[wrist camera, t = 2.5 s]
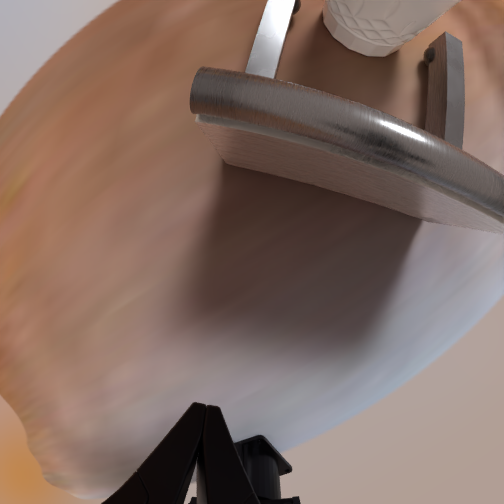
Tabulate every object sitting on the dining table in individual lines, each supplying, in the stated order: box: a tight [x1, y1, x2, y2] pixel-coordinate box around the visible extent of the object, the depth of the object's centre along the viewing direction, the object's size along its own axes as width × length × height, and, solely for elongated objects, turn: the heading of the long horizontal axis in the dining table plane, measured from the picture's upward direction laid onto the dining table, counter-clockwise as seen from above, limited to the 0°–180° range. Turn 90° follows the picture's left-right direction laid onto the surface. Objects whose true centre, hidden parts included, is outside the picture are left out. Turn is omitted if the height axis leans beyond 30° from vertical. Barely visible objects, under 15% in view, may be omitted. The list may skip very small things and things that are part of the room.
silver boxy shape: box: [190, 0, 504, 235], centre depth 12 cm, size 15×15×12 cm
